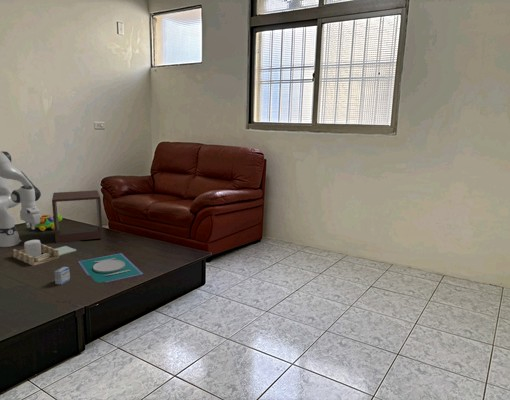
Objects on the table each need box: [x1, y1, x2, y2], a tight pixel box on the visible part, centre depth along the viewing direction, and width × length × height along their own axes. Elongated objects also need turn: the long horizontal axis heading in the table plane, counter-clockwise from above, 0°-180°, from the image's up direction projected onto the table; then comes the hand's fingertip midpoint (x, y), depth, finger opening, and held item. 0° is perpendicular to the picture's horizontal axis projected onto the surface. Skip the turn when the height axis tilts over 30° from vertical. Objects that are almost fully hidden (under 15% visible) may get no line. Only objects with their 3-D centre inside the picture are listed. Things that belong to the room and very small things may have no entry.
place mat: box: [77, 252, 144, 283], centre depth 256 cm, size 45×30×2 cm
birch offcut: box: [34, 253, 50, 261], centre depth 264 cm, size 4×10×2 cm, turn 162°
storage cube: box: [51, 189, 104, 244], centre depth 316 cm, size 35×29×35 cm
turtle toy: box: [35, 213, 63, 232], centre depth 337 cm, size 17×23×12 cm
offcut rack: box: [12, 243, 60, 266], centre depth 268 cm, size 26×18×6 cm
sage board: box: [55, 245, 77, 257], centre depth 282 cm, size 14×14×1 cm
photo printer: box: [23, 239, 42, 258], centre depth 269 cm, size 10×4×12 cm, turn 130°
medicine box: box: [53, 266, 71, 286], centre depth 230 cm, size 8×4×9 cm, turn 170°
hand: (30, 228), depth 265 cm, fingers open, 5 cm apart
